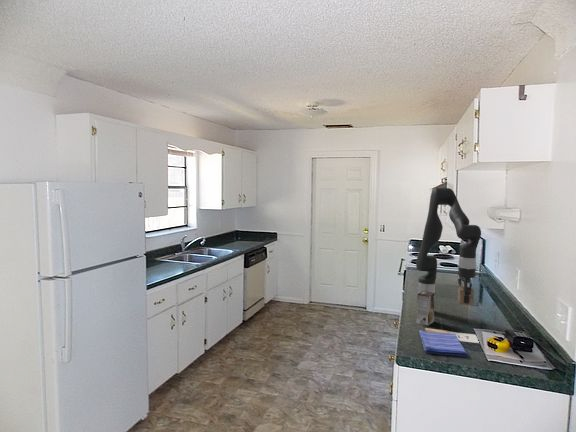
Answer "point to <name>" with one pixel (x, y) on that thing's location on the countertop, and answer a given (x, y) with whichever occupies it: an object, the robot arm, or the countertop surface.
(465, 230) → the robot arm
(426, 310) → the coffee box
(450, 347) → the dish towel
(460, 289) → the walnut block
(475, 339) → the tile
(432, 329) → the coaster
